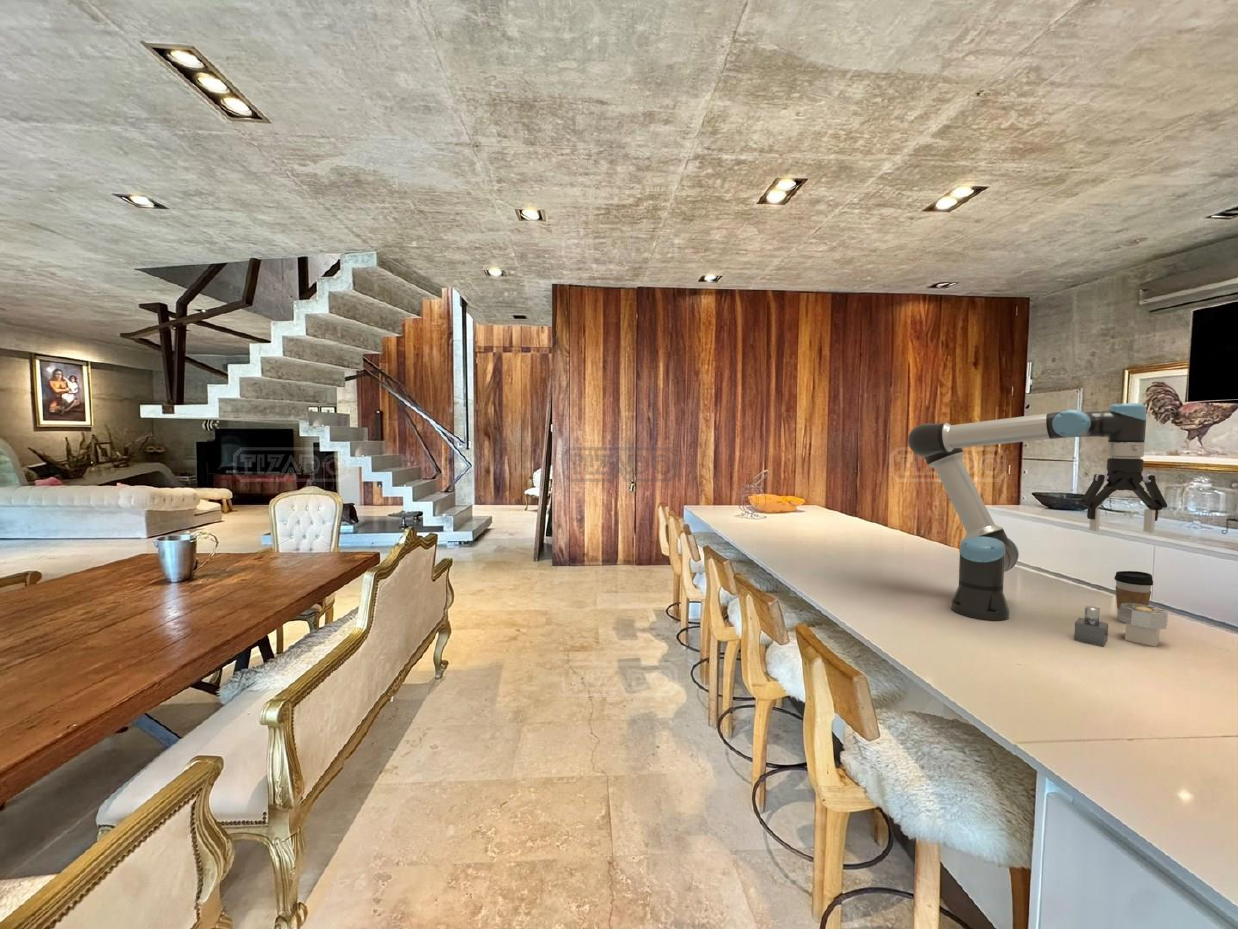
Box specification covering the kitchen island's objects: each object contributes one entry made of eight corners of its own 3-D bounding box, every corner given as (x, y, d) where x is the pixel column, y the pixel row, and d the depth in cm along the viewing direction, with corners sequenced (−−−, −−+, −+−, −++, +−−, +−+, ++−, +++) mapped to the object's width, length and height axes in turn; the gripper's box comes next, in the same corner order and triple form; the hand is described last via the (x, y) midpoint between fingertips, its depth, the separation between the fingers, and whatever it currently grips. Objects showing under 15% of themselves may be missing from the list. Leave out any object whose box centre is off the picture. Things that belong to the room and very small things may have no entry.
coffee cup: (1158, 627, 153) (1162, 577, 152) (1125, 625, 155) (1128, 575, 154) (1136, 618, 161) (1139, 570, 160) (1104, 616, 163) (1107, 568, 162)
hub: (1125, 640, 144) (1127, 608, 143) (1128, 634, 148) (1130, 603, 147) (1156, 646, 139) (1158, 613, 139) (1158, 641, 143) (1160, 609, 142)
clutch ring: (1117, 622, 144) (1118, 607, 143) (1122, 614, 149) (1123, 601, 149) (1164, 631, 137) (1165, 616, 137) (1168, 623, 142) (1169, 609, 142)
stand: (1074, 640, 144) (1075, 607, 143) (1078, 634, 147) (1080, 602, 147) (1103, 647, 139) (1105, 613, 139) (1107, 641, 143) (1109, 608, 142)
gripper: (1084, 457, 148) (1080, 532, 149) (1188, 458, 143) (1183, 535, 144) (1066, 456, 155) (1063, 527, 156) (1165, 457, 150) (1160, 530, 152)
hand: (1121, 531), depth 150 cm, fingers open, 13 cm apart
